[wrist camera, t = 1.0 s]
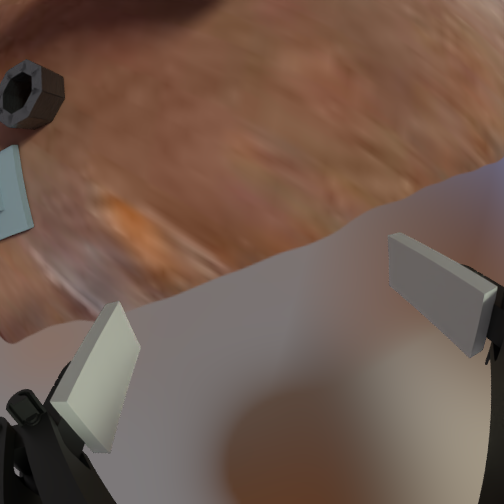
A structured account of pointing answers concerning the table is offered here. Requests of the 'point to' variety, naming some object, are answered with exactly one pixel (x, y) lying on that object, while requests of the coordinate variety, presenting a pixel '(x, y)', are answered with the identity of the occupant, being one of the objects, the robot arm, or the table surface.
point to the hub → (40, 100)
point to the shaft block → (13, 195)
